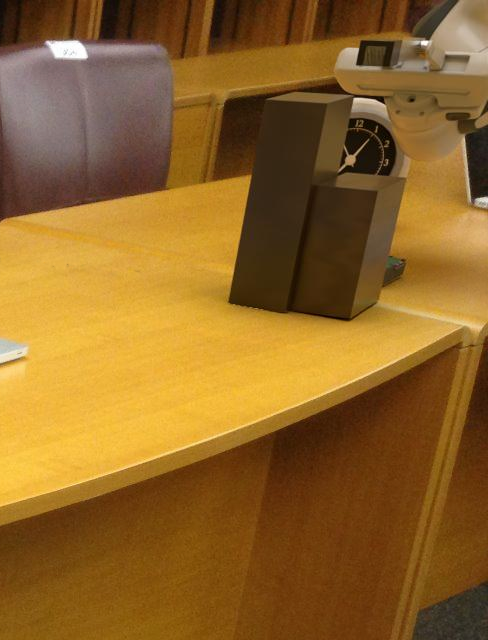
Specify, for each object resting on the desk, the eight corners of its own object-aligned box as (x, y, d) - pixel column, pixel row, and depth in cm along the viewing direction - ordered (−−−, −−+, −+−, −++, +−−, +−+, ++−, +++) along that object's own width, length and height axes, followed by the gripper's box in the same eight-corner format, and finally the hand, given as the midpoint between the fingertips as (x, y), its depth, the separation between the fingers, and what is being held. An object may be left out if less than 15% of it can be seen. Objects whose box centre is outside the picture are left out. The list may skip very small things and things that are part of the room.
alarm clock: (275, 226, 255) (305, 98, 245) (271, 217, 262) (300, 92, 252) (392, 236, 250) (427, 106, 241) (384, 226, 257) (418, 99, 248)
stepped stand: (378, 300, 207) (425, 96, 196) (345, 321, 196) (392, 107, 185) (265, 285, 216) (303, 89, 204) (227, 305, 205) (265, 99, 193)
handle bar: (428, 57, 206) (433, 33, 204) (389, 67, 192) (394, 41, 190) (396, 56, 208) (401, 32, 207) (355, 65, 194) (360, 40, 193)
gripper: (349, 67, 221) (335, 19, 210) (506, 75, 210) (501, 24, 198) (335, 109, 221) (320, 63, 210) (491, 119, 210) (485, 71, 199)
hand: (409, 44), depth 204 cm, fingers closed on handle bar, 2 cm apart
